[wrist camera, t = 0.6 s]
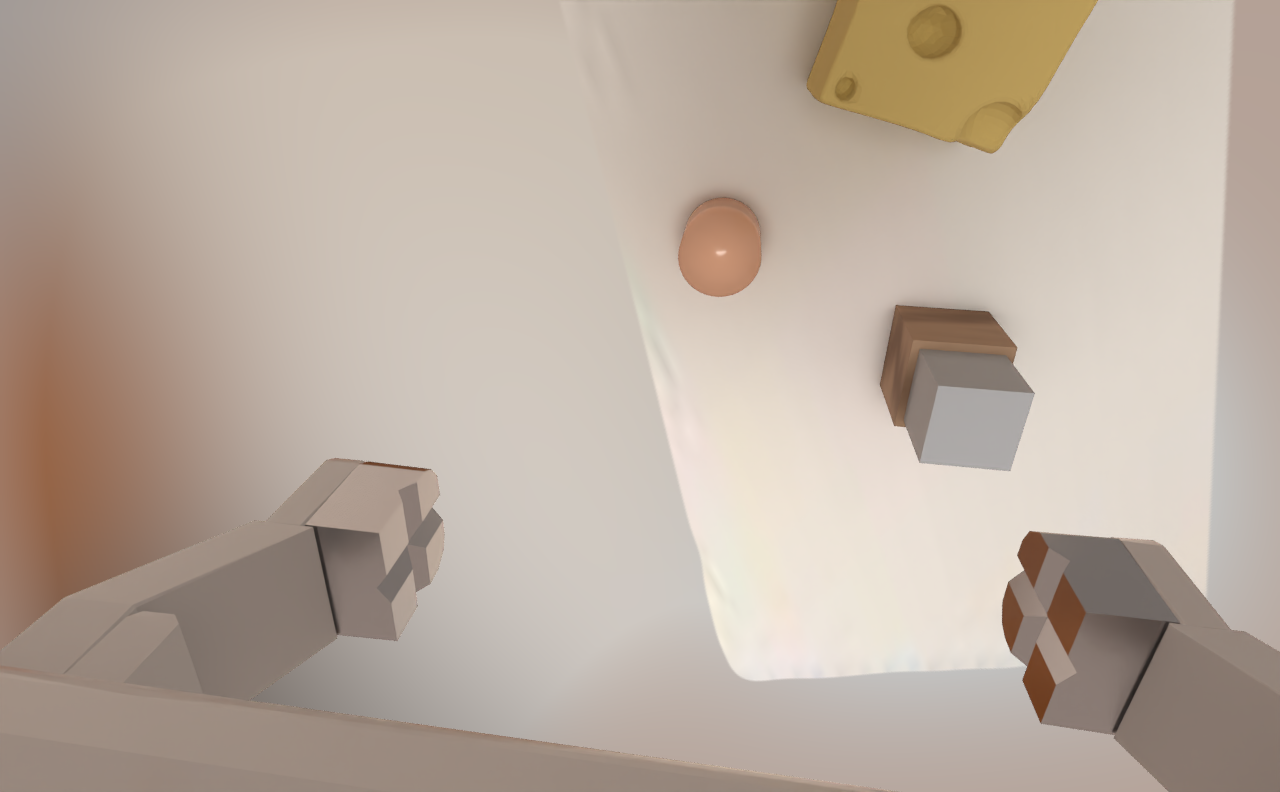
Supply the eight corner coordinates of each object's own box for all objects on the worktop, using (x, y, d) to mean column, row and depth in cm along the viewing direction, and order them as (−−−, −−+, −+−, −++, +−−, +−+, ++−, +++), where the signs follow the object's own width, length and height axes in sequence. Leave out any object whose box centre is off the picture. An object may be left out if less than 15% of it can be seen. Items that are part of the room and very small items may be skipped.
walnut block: (895, 305, 49) (913, 340, 44) (988, 311, 48) (1017, 347, 43) (879, 384, 52) (894, 426, 47) (967, 391, 51) (991, 434, 46)
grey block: (919, 348, 44) (938, 385, 40) (1005, 355, 43) (1034, 393, 39) (903, 420, 46) (919, 462, 42) (985, 427, 46) (1010, 471, 41)
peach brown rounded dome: (686, 195, 47) (680, 213, 43) (764, 199, 47) (765, 218, 43) (682, 269, 50) (676, 293, 45) (756, 274, 49) (756, 299, 45)
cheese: (962, 141, 44) (1015, 173, 35) (792, 86, 44) (803, 104, 35) (1056, -54, 39) (1146, -74, 30) (865, -117, 39) (899, -155, 30)
